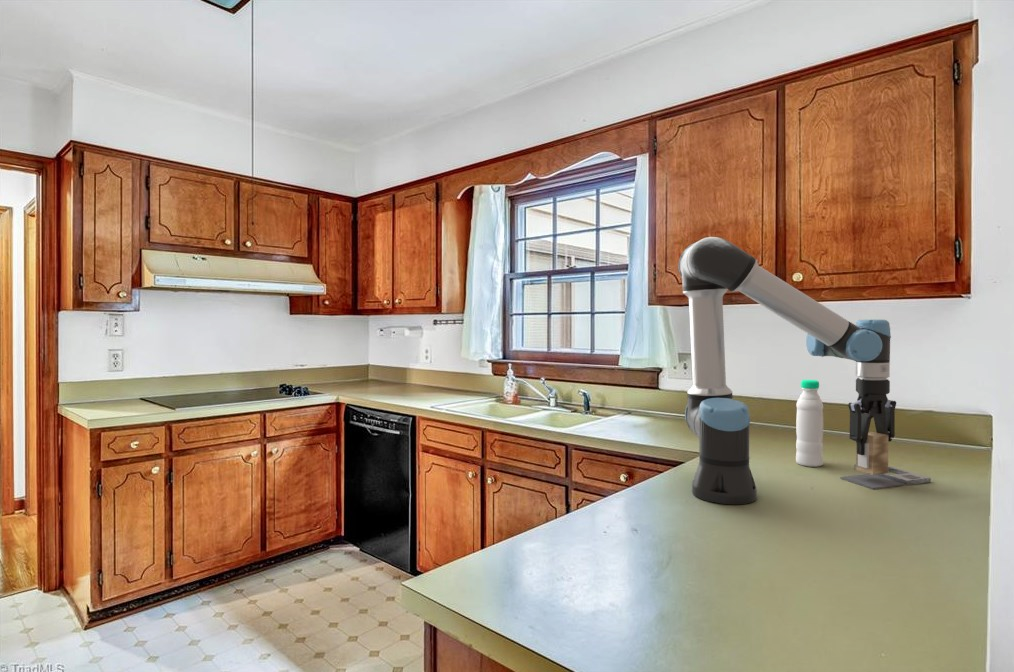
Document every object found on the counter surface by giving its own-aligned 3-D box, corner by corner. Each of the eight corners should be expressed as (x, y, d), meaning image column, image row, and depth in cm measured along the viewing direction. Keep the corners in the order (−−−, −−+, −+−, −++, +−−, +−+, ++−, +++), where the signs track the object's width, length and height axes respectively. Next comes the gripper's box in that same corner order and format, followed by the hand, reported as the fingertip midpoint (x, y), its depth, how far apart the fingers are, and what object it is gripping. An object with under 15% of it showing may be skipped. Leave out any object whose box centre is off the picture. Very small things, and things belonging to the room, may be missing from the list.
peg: (872, 475, 147) (873, 436, 146) (856, 469, 152) (856, 432, 151) (888, 473, 148) (888, 435, 148) (871, 468, 153) (871, 431, 152)
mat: (873, 489, 144) (873, 487, 144) (840, 478, 154) (840, 476, 154) (903, 485, 147) (903, 484, 147) (869, 474, 156) (869, 473, 156)
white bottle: (795, 465, 166) (796, 381, 165) (796, 460, 173) (796, 378, 171) (823, 468, 163) (824, 382, 162) (822, 462, 169) (823, 379, 168)
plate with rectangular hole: (906, 485, 147) (906, 480, 147) (854, 468, 162) (854, 464, 162) (930, 482, 149) (930, 477, 149) (876, 466, 164) (876, 462, 164)
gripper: (857, 381, 143) (856, 472, 144) (912, 378, 148) (911, 466, 149) (832, 378, 150) (832, 465, 151) (886, 375, 155) (885, 459, 156)
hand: (871, 465), depth 150 cm, fingers closed on peg, 5 cm apart
